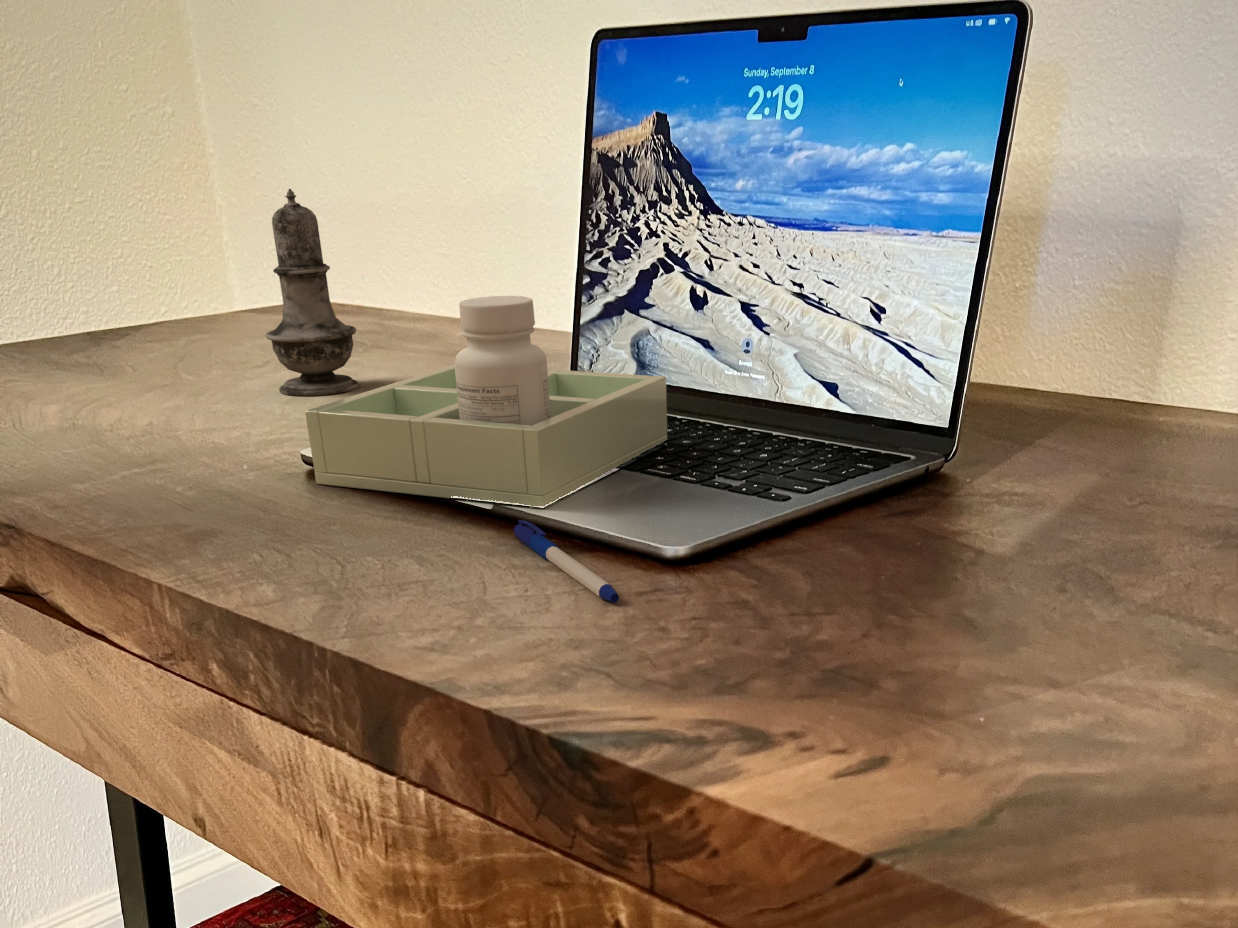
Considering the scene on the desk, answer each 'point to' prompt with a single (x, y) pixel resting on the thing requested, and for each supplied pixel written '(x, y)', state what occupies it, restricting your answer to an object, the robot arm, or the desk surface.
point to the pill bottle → (501, 363)
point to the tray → (486, 438)
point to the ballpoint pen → (563, 561)
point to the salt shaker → (307, 308)
